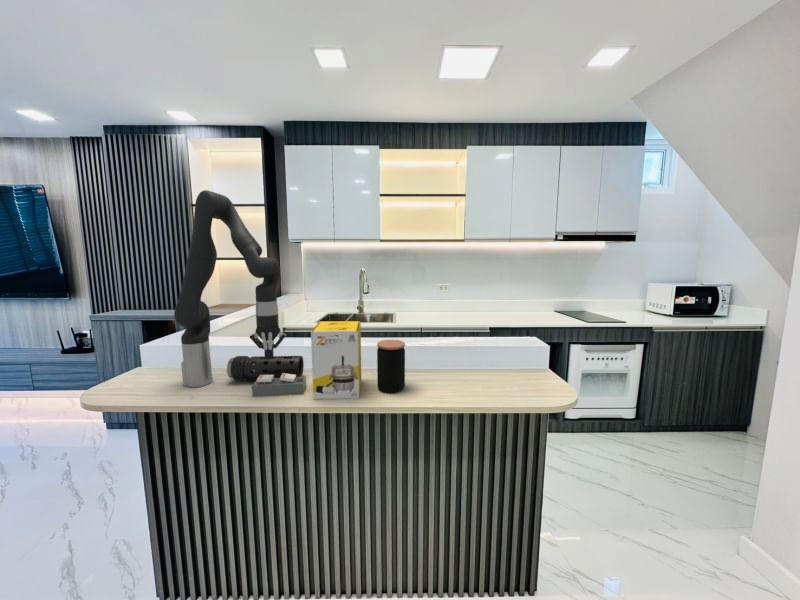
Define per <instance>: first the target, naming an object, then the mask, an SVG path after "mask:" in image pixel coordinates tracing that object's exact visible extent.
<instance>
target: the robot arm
mask: <svg viewBox="0 0 800 600" xmlns="http://www.w3.org/2000/svg"><path fill="white" fill-rule="evenodd" d="M193 215H194V216H193V225H192V233H191V241H190V244H189V249H188V254H187V257H186V258H187V259H186V263H185V264H186V265H185V269H184V274H183V280H182V284H181V289H180V291H179V295H178V299H177V302H176V305H175V308H174V315H173V316H174V320H175V322H176V324H178V325H179V326H181V327H184V328H185V330H184V332H183V334H181V336H180V341H181V350H182V351H181V352H182V360H183V361H181V362H180V366H181V377H182V385H183V387H188V388H199V387H203V386H207V385H209V384H210V383H212V382H213V373H212V372H213V371H212V370H213V369H212V359H211V358H212V357H211V348H210V337H209V336H210V333H211V314H210V309H209V306H208V304H207V303H205V301H202V299H201V298H202V296H203V292H204V289H205V288H206V287H207V285H208V283H209V281H210V280H211V278H212V276H213V274H214V271H215V269H216V263H217V258H218V252H217V249H216V245H215V243H214V239H213V237H212V224H213V223H212V222H213V219H214V220H215V219H216V220H220V221H221V222H223V223H224V224H225V225H226V227H227V228H228V229H229V232H230V237H231V241H232V244H233V245H234V247H235V248H236V250H237V251H238V252H239V253H240V255H241V256H242V257H243V260H244V262H245V264H246V267H247V270H248V272H249V273H250V275H251V276H253V277H255V278H257V279H263V280H262V283H259V284H258V285H256V287H255V320H256V328H255V332H254V333H252V334H251V335H250V336H249V338H250V340H251V341H252V342H253V343H254V344H255V345H256V346H257V347H258V348H259V349H261V350H264V352H263V353H264V356H265V358H266V359H267V360H269V359H272V357H273V356H275V355H274V349H277V348H278V347H279V346H280V345H281V343H282V341H284V339H285V338H286V337H287V334H286V332H285V333H284V332H282V331H281V329H280V326H279V324H280V323H279V307H278V306H279V305H278V299H277V297H278V296H277V294H278V293H277V288H278V284H279V281H280V276H281V275H280V274H281V265H280V264H279V263H280V262H279V261H278V260H277V259H276V258H273V257H261V255H262V253H263V249H262V247H261V245H260V243H258V241H257V240H256V239H255V237H254V236H253V235H252V234H251V232H250V231H249V230H248V228H247V227H246V225H245V224H244V223H245V222H243V219H242V218H241V217H240V215H239V213H238V211H237V209H236V207H235V205H234V203H233V202H232V201H231V200H230V198H229V197H227V196H226V195H223V194H221V193H218V192H214V191H210V190H204V189H203V190H201V191H199V193H198V195H197V196H196V199H195V205H194V214H193ZM277 337H278V338H279V339H278V340H277V341H276V343H275V340H276V339H277Z"/></svg>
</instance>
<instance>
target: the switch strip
mask: <svg viewBox="0 0 800 600" xmlns="http://www.w3.org/2000/svg"><path fill="white" fill-rule="evenodd" d="M306 378H307V377H306V376H302V377H296V378H295V380H294V382H290V381H284V380H280V378H274V379H273V380H272V382H257V380H256V381H254V383H253V384H252V385H251V395H252V396H251V397H254V398H255V397H270V396H271V397H272V396H290V395H291V396H292V395H293V396H294V395H304V393H305V390H306V387H307V379H306Z"/></svg>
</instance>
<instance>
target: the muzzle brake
mask: <svg viewBox="0 0 800 600" xmlns="http://www.w3.org/2000/svg"><path fill="white" fill-rule="evenodd" d="M304 364H305V363H304V357H303V356H302V355H274V356H273V357H272V359H269V360H267V359H266V358H265V355H264V356H262V355H261V356H258V355H257V356H256V355H255V356H254V355H253V356H251V357H250V356H248V355H236V356H235V357H230V358H229V360H228V363H227V366H226V374H227V376H228V378H229V379H233V380H235V381H241V380H243V381H244V380H246V381H247V382H254V381H253V380H257V378H258V377H259V376H260V375H274V378H280V377H281V375H282V374H283V373H287V374H293V375H296V377H303V373H304V369H305V367H304Z"/></svg>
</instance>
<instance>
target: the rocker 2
mask: <svg viewBox="0 0 800 600" xmlns="http://www.w3.org/2000/svg"><path fill="white" fill-rule="evenodd" d="M295 378H296V375H293V374H287V373H283V374H282V375H281V377H280V380H284V381H290V382H294V380H295Z"/></svg>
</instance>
